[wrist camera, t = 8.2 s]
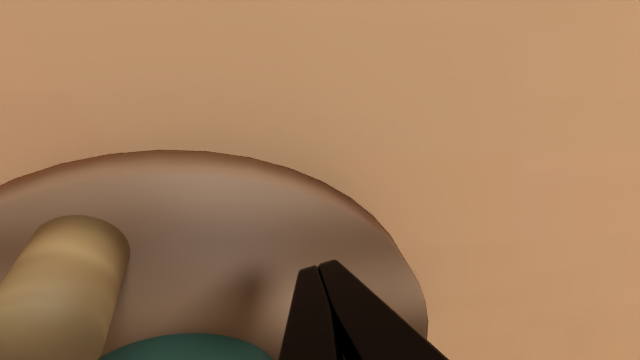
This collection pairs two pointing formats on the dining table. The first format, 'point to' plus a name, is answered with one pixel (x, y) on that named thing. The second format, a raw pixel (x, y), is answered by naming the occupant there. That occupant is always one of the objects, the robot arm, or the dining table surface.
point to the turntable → (176, 252)
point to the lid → (189, 348)
